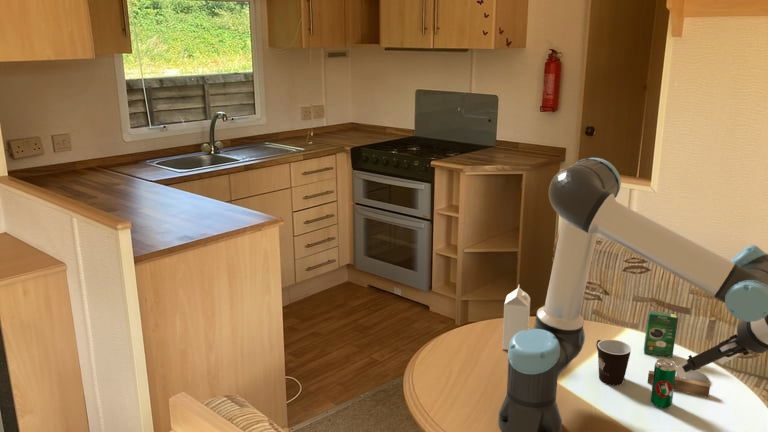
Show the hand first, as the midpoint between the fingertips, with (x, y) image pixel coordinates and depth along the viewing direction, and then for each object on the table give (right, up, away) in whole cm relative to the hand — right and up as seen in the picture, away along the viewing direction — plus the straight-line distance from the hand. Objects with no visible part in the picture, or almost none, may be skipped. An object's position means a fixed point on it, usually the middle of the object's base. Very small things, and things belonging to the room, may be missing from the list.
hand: (698, 365), depth 153 cm
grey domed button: (+10, -9, +23) cm, 27 cm away
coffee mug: (-12, -9, +25) cm, 30 cm away
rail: (+4, -11, +19) cm, 22 cm away
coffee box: (+6, -5, +37) cm, 38 cm away
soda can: (-4, -13, +12) cm, 18 cm away
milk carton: (-35, -4, +43) cm, 56 cm away
